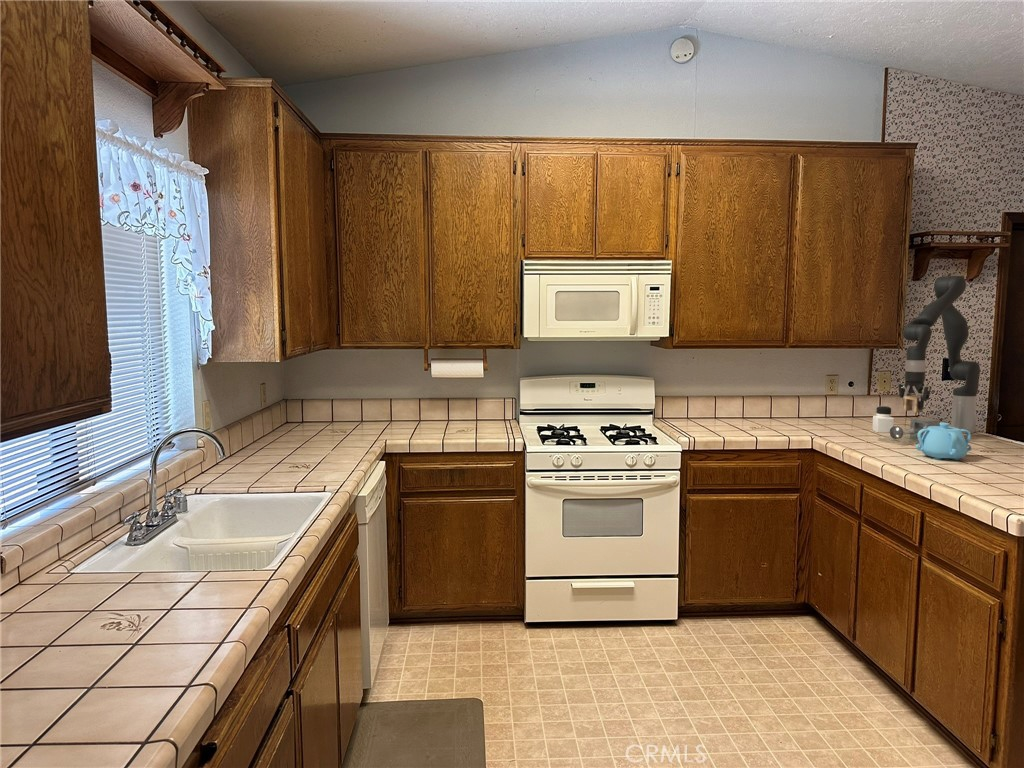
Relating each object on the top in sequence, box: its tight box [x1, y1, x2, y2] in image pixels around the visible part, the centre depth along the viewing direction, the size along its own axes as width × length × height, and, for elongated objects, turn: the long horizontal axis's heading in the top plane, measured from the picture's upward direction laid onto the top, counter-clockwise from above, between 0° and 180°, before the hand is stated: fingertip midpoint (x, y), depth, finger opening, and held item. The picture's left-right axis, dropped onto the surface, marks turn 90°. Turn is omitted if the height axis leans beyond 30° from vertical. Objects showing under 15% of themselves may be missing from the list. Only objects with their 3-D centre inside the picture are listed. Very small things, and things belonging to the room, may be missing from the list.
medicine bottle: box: [872, 405, 895, 434], centre depth 315 cm, size 7×7×12 cm
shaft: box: [889, 425, 923, 439], centre depth 293 cm, size 18×6×6 cm, turn 112°
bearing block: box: [877, 417, 941, 446], centre depth 293 cm, size 26×12×9 cm, turn 111°
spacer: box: [903, 395, 924, 414], centre depth 292 cm, size 4×6×7 cm
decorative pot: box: [915, 422, 972, 461], centre depth 259 cm, size 16×16×14 cm
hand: (913, 408), depth 292 cm, fingers closed on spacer, 5 cm apart
